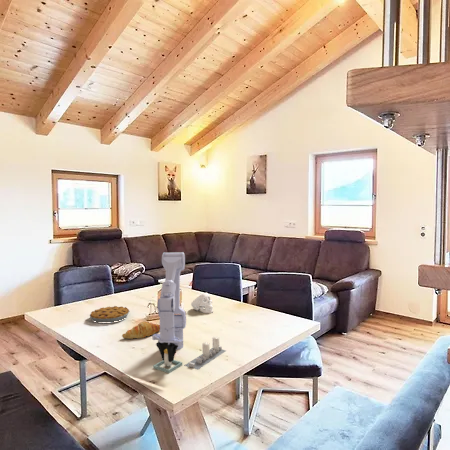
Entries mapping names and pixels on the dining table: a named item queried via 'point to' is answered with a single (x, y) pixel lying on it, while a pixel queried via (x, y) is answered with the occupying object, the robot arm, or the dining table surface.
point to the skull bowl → (203, 303)
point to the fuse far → (216, 344)
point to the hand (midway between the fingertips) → (167, 360)
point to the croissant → (142, 330)
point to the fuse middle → (206, 350)
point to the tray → (165, 368)
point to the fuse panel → (204, 359)
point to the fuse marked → (166, 358)
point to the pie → (109, 314)
